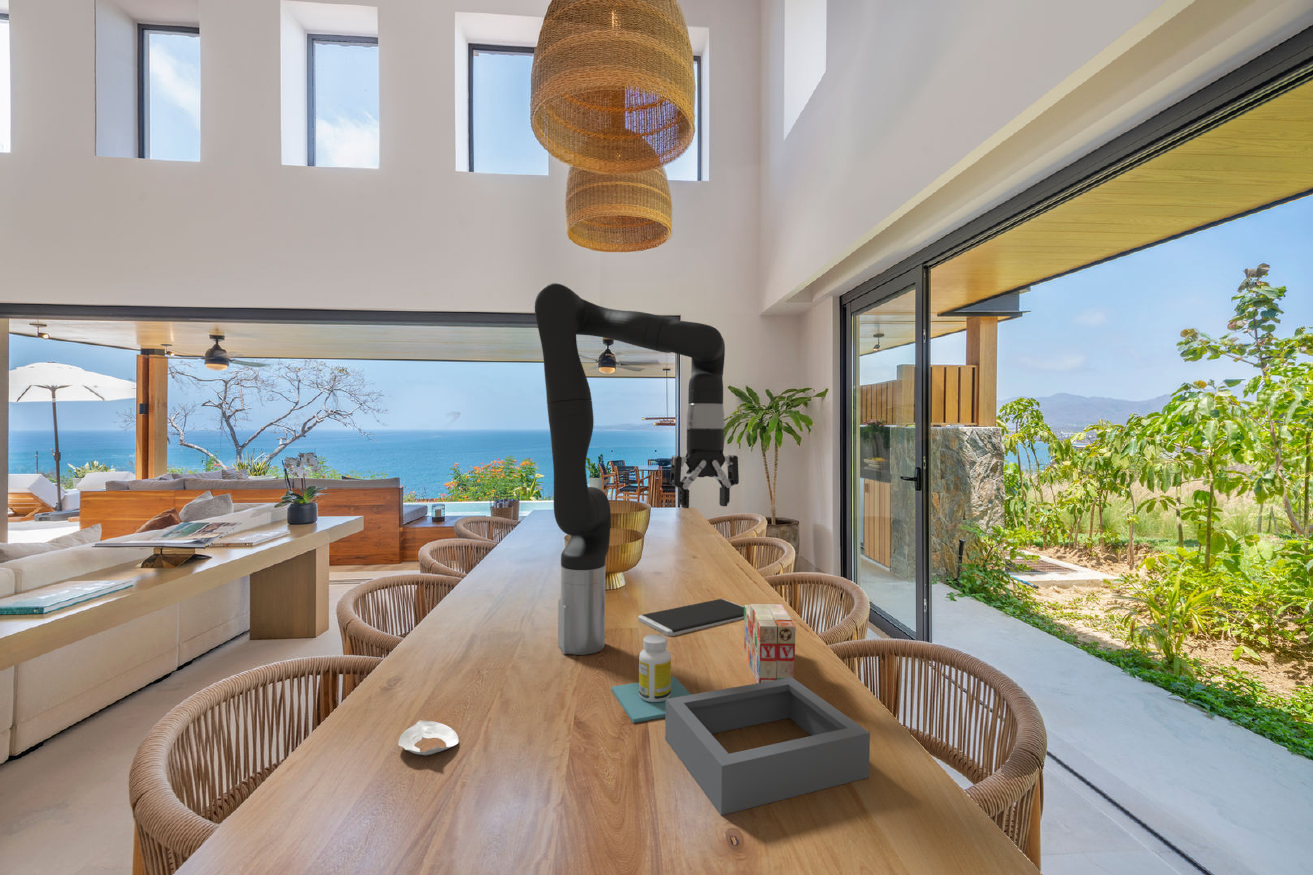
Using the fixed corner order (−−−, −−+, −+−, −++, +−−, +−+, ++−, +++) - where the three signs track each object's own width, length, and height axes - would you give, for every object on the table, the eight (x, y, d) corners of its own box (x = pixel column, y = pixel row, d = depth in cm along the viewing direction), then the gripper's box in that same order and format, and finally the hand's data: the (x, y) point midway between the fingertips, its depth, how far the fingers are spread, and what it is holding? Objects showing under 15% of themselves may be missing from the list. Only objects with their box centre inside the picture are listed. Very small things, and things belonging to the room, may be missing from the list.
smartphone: (758, 618, 143) (758, 611, 143) (669, 639, 128) (669, 631, 128) (722, 604, 154) (722, 597, 154) (636, 622, 139) (636, 614, 139)
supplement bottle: (674, 690, 101) (674, 634, 100) (666, 705, 96) (667, 646, 95) (643, 686, 102) (644, 631, 102) (634, 701, 97) (635, 642, 97)
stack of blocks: (743, 648, 122) (744, 589, 122) (773, 648, 122) (773, 590, 122) (758, 695, 101) (759, 624, 101) (795, 695, 101) (796, 625, 101)
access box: (721, 815, 70) (721, 765, 69) (665, 738, 86) (665, 698, 86) (869, 777, 77) (869, 732, 77) (791, 713, 94) (792, 677, 94)
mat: (633, 722, 91) (633, 719, 91) (611, 690, 102) (611, 686, 102) (702, 710, 95) (702, 706, 95) (674, 679, 106) (674, 676, 106)
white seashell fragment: (405, 773, 77) (406, 753, 77) (390, 738, 87) (391, 720, 87) (466, 758, 81) (467, 740, 81) (445, 727, 91) (446, 710, 91)
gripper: (728, 426, 123) (727, 503, 124) (665, 426, 118) (664, 505, 119) (745, 427, 116) (744, 508, 117) (680, 426, 111) (679, 511, 112)
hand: (704, 506), depth 118 cm, fingers open, 8 cm apart
